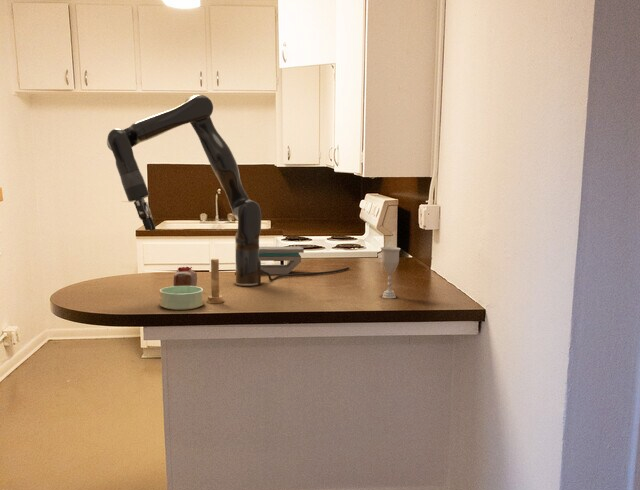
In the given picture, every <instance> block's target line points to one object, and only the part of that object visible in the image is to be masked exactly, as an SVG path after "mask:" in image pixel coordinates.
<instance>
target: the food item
mask: <svg viewBox="0 0 640 490" xmlns="http://www.w3.org/2000/svg"><path fill="white" fill-rule="evenodd" d="M192 268H193V267H192V266H181V267H177V270H176V273H175V274H174V275H173V286H196V287H197V284H198V274H197V272H196V271H195V270H194V269H192Z"/></svg>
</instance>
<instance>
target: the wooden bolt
mask: <svg viewBox="0 0 640 490" xmlns="http://www.w3.org/2000/svg"><path fill="white" fill-rule="evenodd" d="M219 264H220V261H219V258H211V259H210V282H211V283H210V284H211V286H210V287H211V291H210V292H211V294H210V295H208V296H207V303H209V304H222V303H223V302H224V296H223V295H221V294H220V273H219V272H220V265H219Z"/></svg>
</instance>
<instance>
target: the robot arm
mask: <svg viewBox="0 0 640 490" xmlns="http://www.w3.org/2000/svg"><path fill="white" fill-rule="evenodd" d="M213 111H214V104H213V102H212V100H211V99H210V98H209V97H208V96H206V95H204V94H195V95H191V96H189V97H187V98H186V99H185V100H184V103H182V104H181V105H178V106H176V107H174V108H172V109H169V110H166V111H164V112H160V113H156V114H154V115H151V116H148V117H145V118H143V119H140V120H137V121H135V122H134V123H132V124H131V125H130V126H129V127H127V128H126V127H125V128H124V129H121V128H113V129H112V130H110V131H109V133H108V134H107V138H106V145H107V148H108V149H109V150H110V151H111V152H112V154H113V156H114V159H115V166H116V169H117V173H118V174H119V177H120V182H121V184H122V187H123V191H124V193H125V196H126V198H127V201H128V202H129V203H132V202H133V204H134V206H135V209H136V212H137V215H138V218H139V219H140V221H142V224H143V227H144V229H145V231H149V232H152V231H155V230H156V226H155V222H154V220H153V218H154V217H153V214H152V211H151V208H150V206H149V203H148V202H147V201H146V200H145V199H147V198H148V197H149V196H150V192H149V190H148V187H147V184H146V182H145V179H144V176H143V174H142V172H141V171H140V168H139V165H138V161H137V160H136V158H135V155H134V151H133V147H135V146H138V144H140V143H143V142H147V141H148V140H151V139H154V138H156V137H158V136H160V135H163V134H166V133H167V132H169V131H171V130H173V129H176V128H178V127H181V126H183V125H187V124H190V125H191V127H192V128H193V130H194V132H195V134H196V135H197V138H198V140H199V143H200V144H201V147H202V149H203V151H204V153H205V156H206V158H207V160H208V163H209V164H210V167H211V169H212V171H213V173H214V174H215V177H216V178H217V180H218V182H219V184H220V186H221V188H222V189H223V192H224V193H225V196H226V198H227V201H228V204H229V207H230V209H231V212H232V215H233V217H234V218H235V220H237V232H236V233H235V235H234V238H235V239H234V240H235V243H234V245H235V246H234V248H235V249H234V250H235V251H234V253H235V272H234V276H235V285H237V286H238V287H239V286H240V287H254V286H255V287H256V286H262V285H261V284H262V276H264V275H267V277H268V280H269V281H270V282H273V281H275V280H277V279H280V278H284V277H285V278H286V277H297V276H299V277H300V276H313V275H314V276H315V275H326V274H334V273H339V272H343V271H346V270H347V271H348V270H349V269H350V266H347V267H344V268H340V269H334V270H326V271H315V272H301V273H300V272H299V273H289V274H277V275H276V276H274V277H273V278H272V276H271V274H269V273H267V272H265V271H263V269H261V265H262V261H260V260H259V247H260V236H261V233H262V232H261V231H262V210H261V207H260V204H259V203H258V202H256V201H255V200H251V199H250V197H249V196H248V194H247V192H246V190H245V188H244V186H243V184H242V180H241V175H240V170H239V166H238V162H237V160H236V158H235V156H234V154H233V152H232V150H231V148H230V146H229V145H228V143H227V142H226V141H225V139H224V138H223V137H222V136H221V134H220V133H219V132H218V130H217V129H216V127H215V125H214V123H213V121H212V117H211V115H212V114H213ZM263 273H264V274H263Z"/></svg>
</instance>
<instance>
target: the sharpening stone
mask: <svg viewBox="0 0 640 490" xmlns="http://www.w3.org/2000/svg"><path fill="white" fill-rule="evenodd" d="M304 252H305V249H304V247H303V246H259V260H260V261H261V262H277V261H278V262H287V261H288V262H287V263H286V264H261V269H263V271H265V272H267V273H269V274H270V275H285V274H291V272H292V271H293V270H295V268H296V267H297V266H299V265H300V263H301V262H302V255H301V254H304ZM263 275H265V274H264V273H263Z"/></svg>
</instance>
